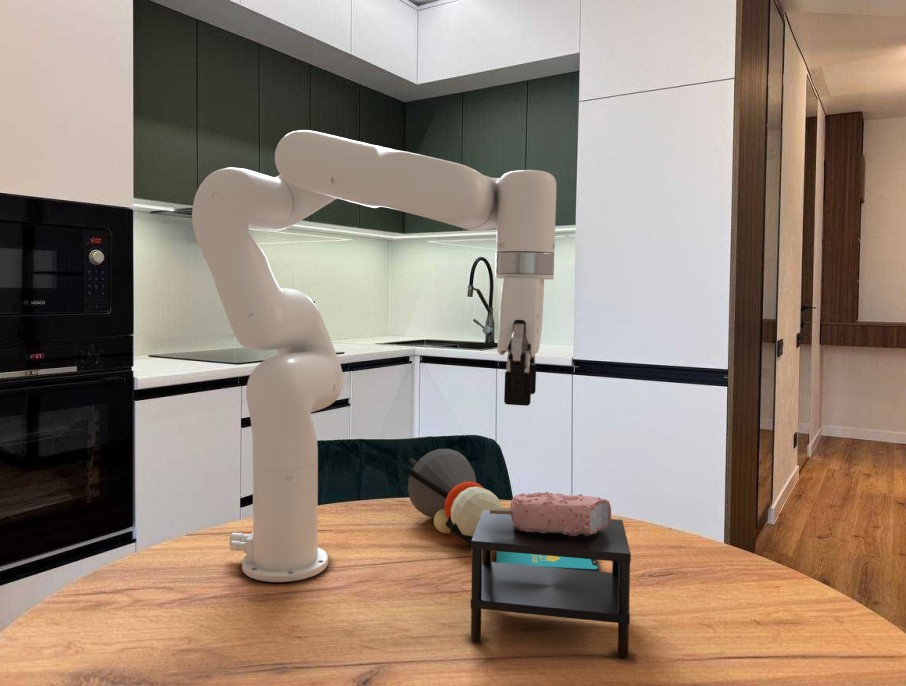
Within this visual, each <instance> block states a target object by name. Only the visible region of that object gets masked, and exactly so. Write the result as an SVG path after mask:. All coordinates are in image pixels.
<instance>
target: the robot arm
mask: <svg viewBox="0 0 906 686" xmlns="http://www.w3.org/2000/svg"><path fill="white" fill-rule="evenodd" d="M274 164H275V167H276V169H277V172H278V173H279V175H277V176H271V175H268V174H264V173H260V172H257V171H254V170H251V169H247V168H242V167H241V168H240V167H224V168H220V169H217V170H214V171H213V172H211V173H209V174H208V175H207V176H206V177H205V178H204V180H202V182H201V184H200V185H199V186H198V188H197V190H196V193H195V194H194V195H195V196H194V199H193V204H192V211H191V222H192V229H193V233H194V237H195V239H196V242H197V244H198V247H199V249H200V251H201V253H202V255H203V258H204V259H205V261H206V264H207V267H208V269H209V270H210V273H211V275H212V278H213V281H214V283H215V287H216V291H217V293H218V295H219V298H220V301H221V303H222V306H223V308H224V312H225V314H226V317H227V320H228V322H229V325H230V327H231V330H232V332H233V335H234V337H235V338H236V341H237V342H238V343H239V344H240V345H241V347H244V348H245V349H247V350H250V351H253V352H255V351H257V352H263V351H272V350H276V351H277V354H278V355H275V356H271V357H268V358H266V359H264V360H263V361H261V362H260V363H259V364H257V365H256V366H255V367H254V369H253V370H252V371H251V373H250V375H249V377H248V380H247V383H246V390H245V391H246V392H245V393H246V394H245V395H246V403H247V409H248V413H249V419H250V426H251V438H252V439H251V440H252V441H251V442H252V532H251V533H250V534H247V533H244V532H232V533H231V534H230V537H229V550H230V551H235V552H244V554H245V556H244V557H243V559H242V561H241V571H242V572H243V574H245V575H246V576H247V577H249V578H251V579H254V580H256V581H260V582H266V583H267V582H268V583H289V582H295V581H296V582H297V581H302V580H306V579H309V578H312V577H315V576H316V575H318V574H320V573H322V572H323V571H325V569H326V568H327V566H328V565H329V556H328V553H327V552H326V550H324V549H322V548H321V547H319V545H318V544H319V543H318V539H319V538H318V537H319V535H318V534H319V533H318V531H319V526H318V525H319V524H318V523H319V521H318V518H319V516H318V513H319V511H318V509H319V504H318V503H319V482H318V481H319V446H318V437H317V433H316V429H315V426H314V422H313V418H312V413H314V412H316V411H321V410H323V409H325V408H327V407H330V406H331V405H332V404H333V403H335V402H336V401H337V399H338V398H339V397H340V395H341V393H342V391H343V387H344V374H343V369H342V365H341V362H340V360H339V357H338V354H337V352H336V349H335V347H334V344H333V341H332V340H331V337H330V334H329V332H328V329H327V327H326V323H325V322H324V320H323V319H324V318H323V317H322V314H321V312H320V310H319V308H318V307H317V305H316V303H315V302H314V301H313V300H312V299H311V298H310V297H309V296H308V295H307V294H306V293H304V292H303V291H301V290H298V289H294V288H289V287H288V288H287V287H286V288H285V287H284V288H283V287H280V285H279V283H278V282H277V280H276V278H275V276H274V274H273V270H272V269H271V266H270V263H269V260H268V257H267V256H266V254H265V252H264V251H263V248H261V246H260V245H259V243H258V242H257V241H256V240H255V239H256V238H254V237H253V235H252V233H251V231H250V229H257V230H261V231H269V232H276V231H283V230H286V229H288V228H290V227H293V226H294V225H296V224H297V223H300V222H301V221H303V220H304V219H306V218H308V217H309V216H311V215H313V214H314V213H316V212H318V211H319V210H320V209H322V208H324V207H325V206H327V205H329V204H331V203H332V202H333V201H335V200H343V201H346V202H349V203H353V204H357V205H361V206H365V207H369V208H372V209H377V208H388V209H392V210H396V211H399V212H404V213H408V214H411V215H414V216H419V217H423V218H427V219H430V220H433V221H437V222H441V223H444V224H447V225H451V226H455V227H458V228H460V229H464V230H467V231H473V232H475V231H477V232H478V231H479V232H480V231H487V230H492V229H493V230H494V229H496V237H495V238H496V239H495V241H496V242H495V269H494V271H495V273H494V274H495V276H494V278H495V279H502V282H501V289H500V301H499V316H498V317H499V318H498V319H499V320H498V334H497V335H498V336H497V353H498V354H499V355H500V356H504V355H505V354H506V353H507V357H506V367H505V368H506V369H505V372H504V390H503V391H504V393H503V394H504V395H503V402H504V404H505V405H508V406H526V407H527V406H530V405H531V400H532V399H531V397H532V395H534V394H536V389H537V388H536V387H537V386H536V385H537V364H536V354H538V353H539V350H540V345H541V339H542V338H541V337H542V329H543V318H544V298H545V297H544V296H545V295H544V294H545V280H554V278H555V276H554V275H555V251H556V250H555V249H556V248H555V244H556V218H557V217H556V214H557V213H556V212H557V181H556V178H555V176H554V175H553V174H551V173H550V172H547V171H544V170H537V169H536V170H535V169H519V170H518V169H517V170H510V171H507V172H505V173H503V174H502V176H501V177H490V176H488V175H484V174H483V173H481V172H479V171H478V170H476V169H474V168H472V167H470V166H467V165H466V164H465V165H464V164H461V163H458V162H454V161H450V160H445V159H442V158H436V157H433V156H427V155H423V154H421V153H420V154H419V153H414V152H410V151H404V150H398V149H393V148H390V147H385V146H381V145H376V144H371V143H367V142H363V141H358V140H355V139H349V138H346V137H341V136H338V135H334V134H329V133H325V132H320V131H315V130H309V129H298V130H293V131H291V132H289V133H287V134H286V135H284V136H283V137H282V138H281V139H280V140H279V141H278V143H277V145H276V148H275V152H274Z"/></svg>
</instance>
